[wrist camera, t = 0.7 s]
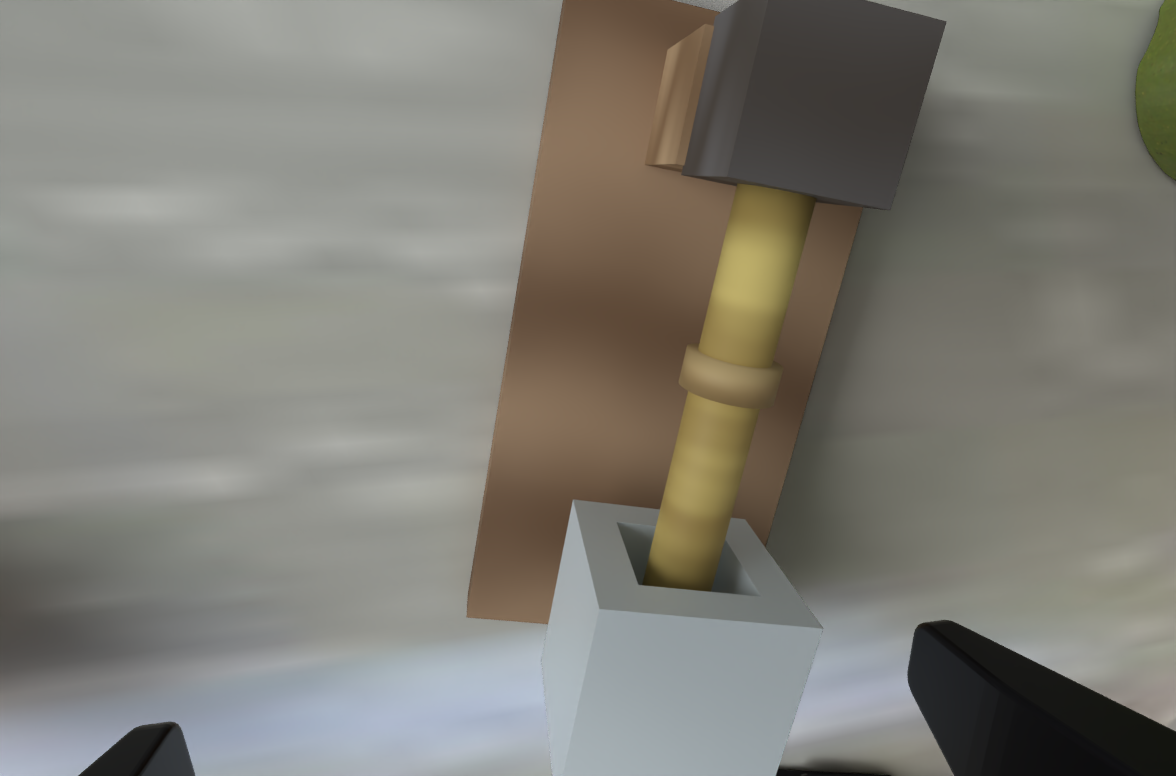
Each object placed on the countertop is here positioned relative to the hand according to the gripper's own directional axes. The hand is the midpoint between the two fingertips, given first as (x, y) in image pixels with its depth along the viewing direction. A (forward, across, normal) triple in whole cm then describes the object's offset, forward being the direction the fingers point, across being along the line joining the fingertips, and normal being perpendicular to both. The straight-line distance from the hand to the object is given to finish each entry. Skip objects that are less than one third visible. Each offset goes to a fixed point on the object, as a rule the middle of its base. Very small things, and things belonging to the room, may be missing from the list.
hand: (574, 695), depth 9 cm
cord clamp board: (+13, -4, 0) cm, 14 cm away
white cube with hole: (+9, -3, +6) cm, 11 cm away
